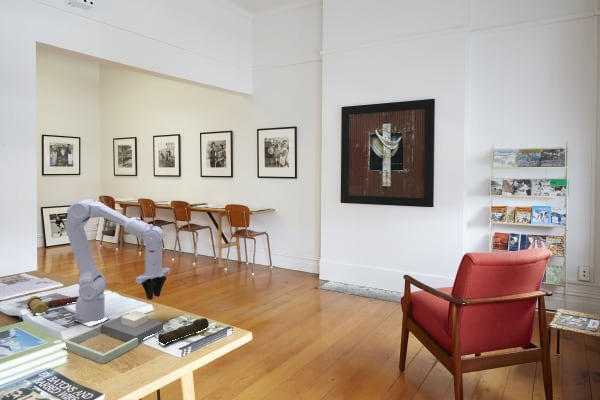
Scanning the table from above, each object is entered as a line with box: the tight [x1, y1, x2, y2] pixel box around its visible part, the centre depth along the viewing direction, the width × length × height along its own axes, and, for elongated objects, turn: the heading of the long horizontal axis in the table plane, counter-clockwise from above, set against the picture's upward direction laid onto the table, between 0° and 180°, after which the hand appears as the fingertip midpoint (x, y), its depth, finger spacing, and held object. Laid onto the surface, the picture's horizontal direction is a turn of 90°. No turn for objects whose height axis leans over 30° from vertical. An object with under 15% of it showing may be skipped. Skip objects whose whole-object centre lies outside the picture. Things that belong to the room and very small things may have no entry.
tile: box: [121, 310, 149, 328], centre depth 140 cm, size 6×6×2 cm
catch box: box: [63, 325, 139, 365], centre depth 129 cm, size 18×13×2 cm
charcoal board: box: [100, 312, 164, 345], centre depth 140 cm, size 16×12×3 cm
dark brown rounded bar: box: [158, 317, 210, 345], centre depth 139 cm, size 19×4×5 cm, turn 137°
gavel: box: [26, 295, 80, 314], centre depth 158 cm, size 21×5×10 cm
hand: (153, 297), depth 147 cm, fingers open, 3 cm apart
